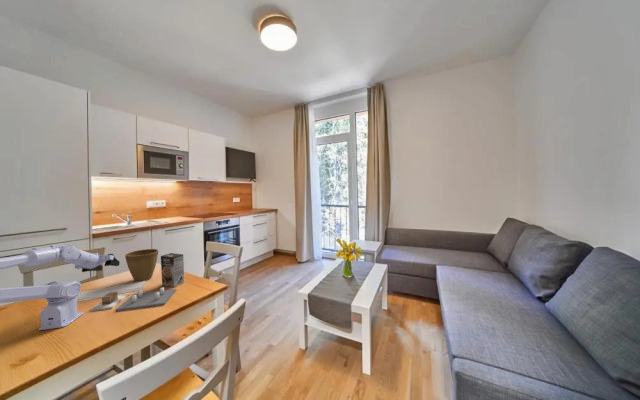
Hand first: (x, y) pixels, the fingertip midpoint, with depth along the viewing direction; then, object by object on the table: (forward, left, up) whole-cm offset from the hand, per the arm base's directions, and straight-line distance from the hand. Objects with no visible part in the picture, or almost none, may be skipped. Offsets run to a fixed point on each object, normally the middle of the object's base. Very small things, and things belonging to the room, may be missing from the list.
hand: (110, 266), depth 105 cm
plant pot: (+19, -5, -15) cm, 25 cm away
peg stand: (-10, -20, -15) cm, 27 cm away
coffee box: (+7, -24, -15) cm, 29 cm away
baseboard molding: (+4, +5, -16) cm, 17 cm away
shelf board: (-8, -4, -16) cm, 18 cm away
